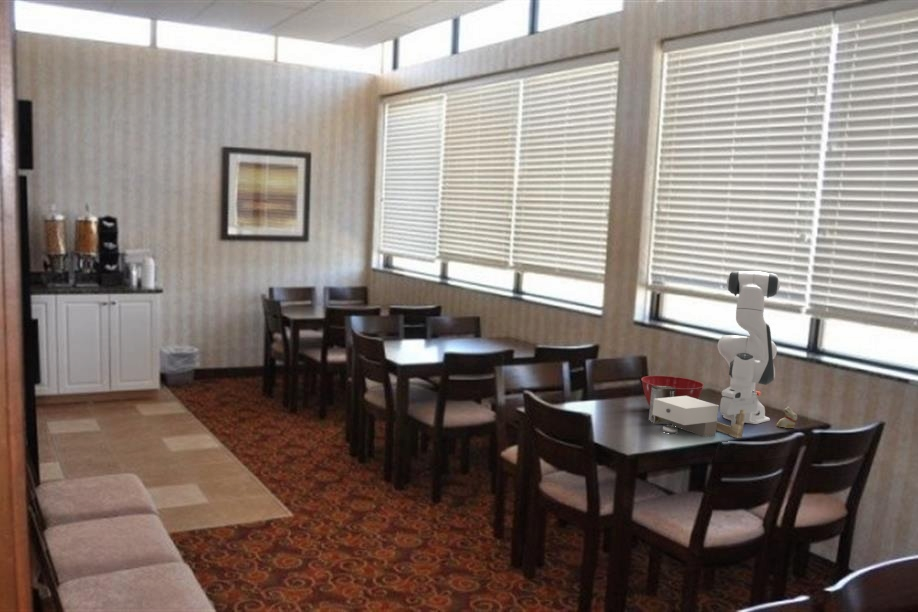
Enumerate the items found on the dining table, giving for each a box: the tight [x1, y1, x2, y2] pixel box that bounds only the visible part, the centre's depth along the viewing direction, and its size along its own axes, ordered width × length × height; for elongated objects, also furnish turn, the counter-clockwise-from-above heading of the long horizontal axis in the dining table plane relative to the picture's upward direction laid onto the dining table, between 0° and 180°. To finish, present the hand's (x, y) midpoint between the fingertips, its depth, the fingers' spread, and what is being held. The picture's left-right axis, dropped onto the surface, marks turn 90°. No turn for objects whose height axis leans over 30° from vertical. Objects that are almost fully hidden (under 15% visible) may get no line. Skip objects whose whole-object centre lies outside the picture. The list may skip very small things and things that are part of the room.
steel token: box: [662, 424, 678, 435], centre depth 348 cm, size 6×6×2 cm
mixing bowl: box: [640, 375, 705, 407], centre depth 382 cm, size 28×28×16 cm
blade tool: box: [716, 410, 745, 439], centre depth 355 cm, size 3×22×12 cm, turn 32°
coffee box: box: [648, 386, 676, 425], centre depth 363 cm, size 9×6×16 cm
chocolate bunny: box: [775, 406, 798, 429], centre depth 370 cm, size 6×8×10 cm
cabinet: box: [652, 396, 720, 437], centre depth 350 cm, size 21×18×13 cm
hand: (737, 423), depth 348 cm, fingers closed on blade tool, 3 cm apart
